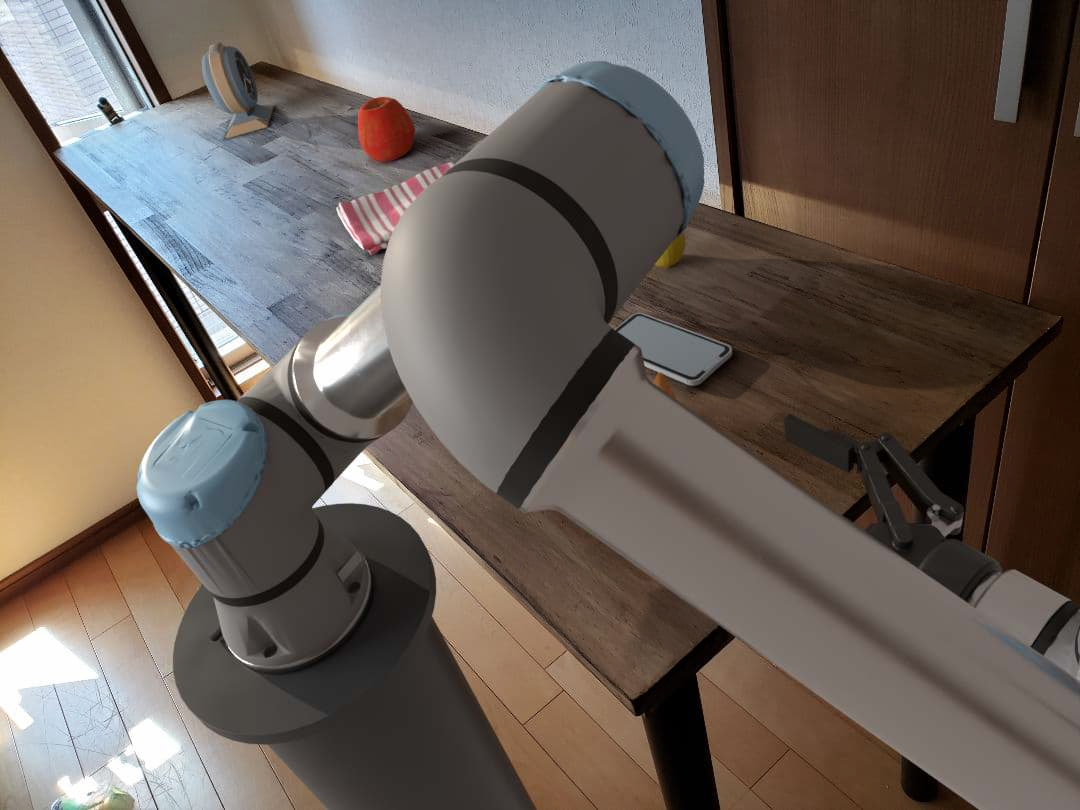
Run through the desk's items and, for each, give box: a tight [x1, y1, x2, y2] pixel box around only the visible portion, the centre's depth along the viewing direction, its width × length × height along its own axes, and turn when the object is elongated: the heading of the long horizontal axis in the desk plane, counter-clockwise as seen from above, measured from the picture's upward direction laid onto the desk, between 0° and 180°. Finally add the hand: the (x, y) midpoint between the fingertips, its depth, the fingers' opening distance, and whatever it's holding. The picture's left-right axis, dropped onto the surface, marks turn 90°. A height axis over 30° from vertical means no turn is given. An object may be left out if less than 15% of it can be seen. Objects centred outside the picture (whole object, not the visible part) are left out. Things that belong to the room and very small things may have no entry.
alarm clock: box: [201, 42, 274, 140], centre depth 187 cm, size 14×10×18 cm
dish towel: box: [336, 161, 457, 256], centre depth 139 cm, size 17×23×4 cm
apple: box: [357, 96, 416, 163], centre depth 157 cm, size 11×11×11 cm
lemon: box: [654, 231, 686, 269], centre depth 109 cm, size 6×6×8 cm
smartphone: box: [613, 312, 733, 387], centre depth 99 cm, size 7×1×15 cm
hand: (736, 471), depth 72 cm, fingers open, 13 cm apart
